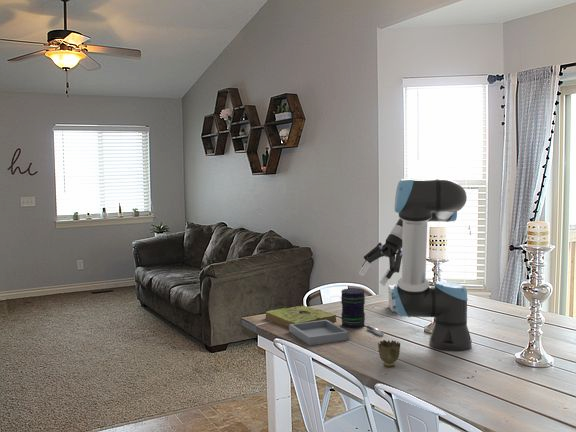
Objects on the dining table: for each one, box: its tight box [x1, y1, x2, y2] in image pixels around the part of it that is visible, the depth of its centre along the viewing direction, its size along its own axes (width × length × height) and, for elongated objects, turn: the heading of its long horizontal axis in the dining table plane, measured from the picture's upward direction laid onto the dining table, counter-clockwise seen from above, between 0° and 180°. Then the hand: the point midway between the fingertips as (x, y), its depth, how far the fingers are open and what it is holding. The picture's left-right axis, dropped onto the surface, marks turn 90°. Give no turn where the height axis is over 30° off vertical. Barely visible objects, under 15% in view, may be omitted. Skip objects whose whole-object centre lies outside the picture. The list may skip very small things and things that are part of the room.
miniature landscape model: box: [265, 305, 337, 328], centre depth 257 cm, size 22×24×5 cm
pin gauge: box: [366, 325, 385, 337], centre depth 236 cm, size 10×2×2 cm, turn 22°
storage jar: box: [340, 287, 366, 330], centre depth 247 cm, size 10×10×15 cm
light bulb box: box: [388, 284, 397, 313], centre depth 274 cm, size 11×7×11 cm, turn 179°
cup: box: [377, 339, 401, 368], centre depth 197 cm, size 8×7×8 cm
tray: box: [288, 320, 350, 346], centre depth 233 cm, size 20×17×3 cm
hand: (371, 279), depth 245 cm, fingers open, 13 cm apart
